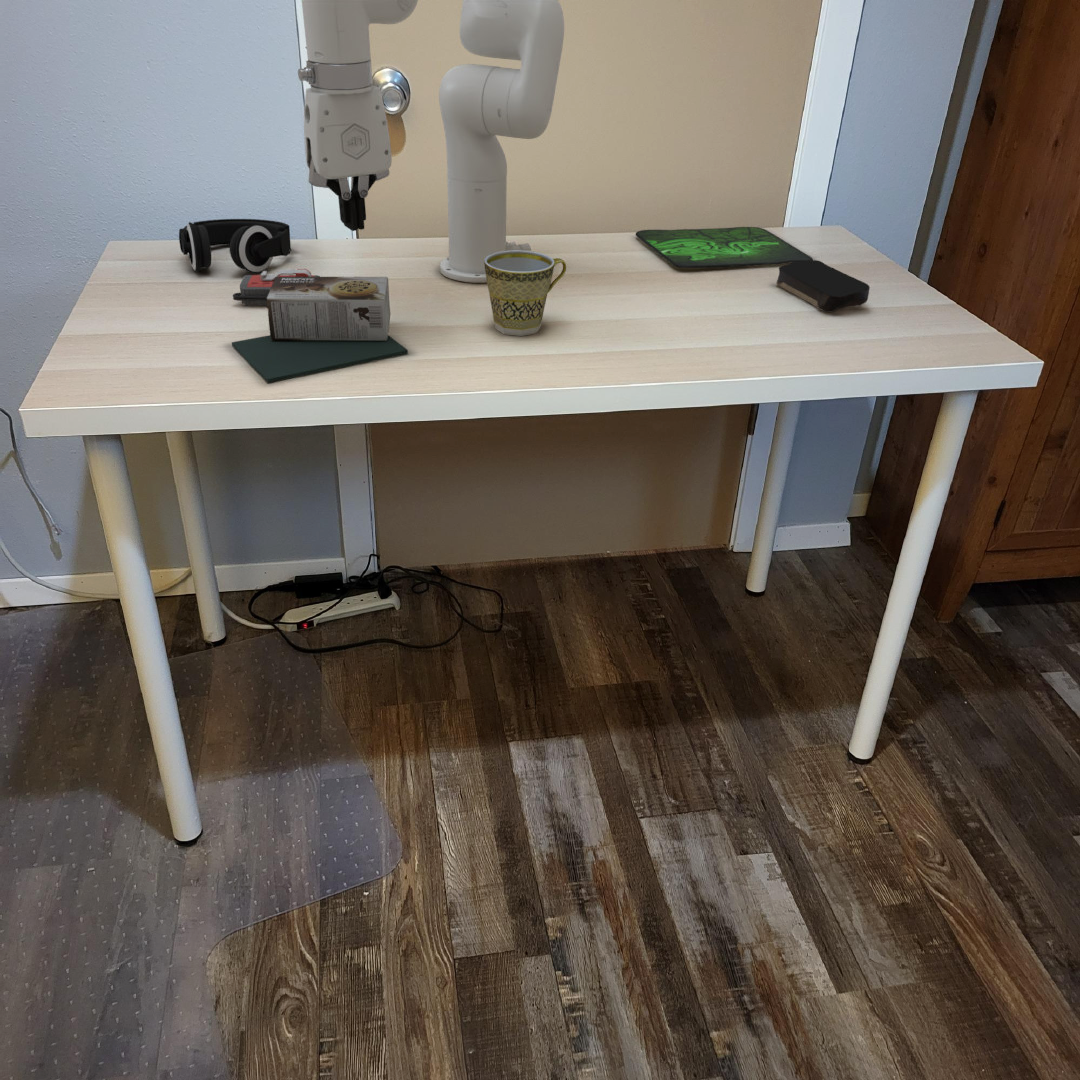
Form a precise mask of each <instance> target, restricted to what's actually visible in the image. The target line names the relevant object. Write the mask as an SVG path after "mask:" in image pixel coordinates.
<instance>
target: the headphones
mask: <svg viewBox="0 0 1080 1080" xmlns="http://www.w3.org/2000/svg"><path fill="white" fill-rule="evenodd" d="M290 229H291V228H290V224H288V223H286V222H282V221H276V220H269V219H258V218H257V219H256V218H222V219H221V218H219V219H209V220H199V221H193V222H190V221H189V222H188V223H187V225H185V226H184V227H183V228H179V230H178V241H179V247H180V251H181V253H182V254H183V255H184V256H187V255H189V256H188V257H189V262H190V265H191V267H192V268H193V271H194V272H195V273H198V272H200V271H201V270H202V269H206V270H207V269H209V268H210V267H211V266H212V250H211V249H212V248H211V247H213V246H222V245H229V255H230V258H231V260H232V261H233V263H234V265H236V266H237V267H238V268H240V269H241V270H243V271H244V270H245V271H246V272H248V273H251V274H261V273H262V272H263V271H266V269H267V268H268V267H269V266H270V265H271V263H272V262H273V259H274V258H276V257H281V256H283V257H287V256H288V255H289V254H290V253H291V251H292V248H291V247H292V246H291V245H292V244H291V232H290V231H291V230H290Z"/></svg>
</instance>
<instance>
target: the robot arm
mask: <svg viewBox="0 0 1080 1080" xmlns="http://www.w3.org/2000/svg"><path fill="white" fill-rule="evenodd" d="M418 2H419V0H301V9H302V17H303V27H304V28H303V29H304V36H305V37H304V38H305V46H306V54H307V55H306V56H307V60H306V66H305V67H303V68H298V70H297V75H298V80H299V81H300V82H306V83H308V85H310V87H307V88H306V89H305V96H304V108H303V109H304V110H303V111H304V113H303V136H304V137H303V139H304V151H305V160H306V165H307V167H308V170H309V173H308V183H309V184H310V185H312V186H313V187H316V188H324V189H329V190H330V191H331V192H333V194H335V195H336V196H337V197H338V208H339V218H340V221H341V223H343V226H344V227H346V228H347V229H349V230H350V231H352V232H355V231H357V230H359V231H360V230H361V231H362V230H365V221H367V210H366V198H367V197H368V195H369V191H370V189H371V188H372V187H373V185H374V184H375V183H376V182H377V181H381V180H382V179H385V178H387V177H389V176H390V168H391V166H392V160H393V159H392V157H393V156H392V147H391V138H390V131H389V123H388V118H387V114H386V109H385V104H384V99H383V95H382V92H381V88H380V87H379V86H377V85H374V84H373V83H374V81H373V69H372V56H371V45H370V44H371V43H370V29H369V28H370V25H371V24H372V25H373V24H374V25H375V24H379V25H395V24H399V23H401V22H403V21H405V20H407V19H408V18H409V17H410V16H411V15H412V14H413V12H414V11H415V9H416V7H417V6H418V5H417V4H418ZM564 37H565V17H564V12H563V7H562V5H561V3H560V1H559V0H462V3H461V10H460V20H459V38H460V43H461V45H462V46H463V48H464V49H465V50H466V51H468V53H470V54H473V55H476V56H480V57H483V58H484V57H485V58H492V59H501V60H509V61H510V60H511V61H520V68H512V67H502V66H498V65H496V66H495V65H486V64H476V63H466V64H459V65H456V66H454V67H453V66H452V67H451V68H450V69H448V70H447V71H446V72H445V74H444V75H443V77H442V79H441V81H440V85H439V90H438V103H439V108H440V114H441V119H442V120H441V121H442V124H443V130H444V136H445V147H446V171H447V173H446V176H447V177H446V178H447V179H446V181H447V220H448V221H447V225H448V227H447V229H448V230H447V231H448V257H446V258H444V259H443V260H441V261H440V263H439V271H440V274H442V275H443V276H444V277H445V278H448V279H451V280H454V281H458V282H461V283H474V284H477V283H478V284H481V283H482V284H487V279H486V273H485V264H484V260H485V258H486V257H487V256H488V255H491V254H493V253H496V252H501V251H510V250H523V251H532V247H531V244H530V243H528V242H527V243H520V244H517V243H516V242H515V241H511V242H509V241H507V189H508V188H507V184H508V183H507V182H508V181H507V179H508V178H507V177H508V165H507V158H506V155H505V153H504V149H503V147H502V145H501V143H500V141H499V139H498V137H506V138H514V139H521V140H522V139H524V140H533V139H537V138H540V137H541V136H542V135H543V134H544V132H545V131H546V130H547V127H548V126H549V123H550V119H551V117H552V111H553V106H554V101H555V100H554V99H555V94H556V89H557V88H556V87H557V83H558V78H559V77H558V76H559V71H560V66H561V65H560V63H561V58H562V52H563V45H564ZM497 136H498V137H497ZM348 178H350V179H351V180H350V184H349V179H348Z"/></svg>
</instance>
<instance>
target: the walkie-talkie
mask: <svg viewBox="0 0 1080 1080" xmlns="http://www.w3.org/2000/svg"><path fill="white" fill-rule="evenodd" d="M267 273H268V271H267V270H264V271H262V272H261V273H260V274H244V276H243V277H242V280H241V282H240V283H239V289H240V290H239V292H235V293H233V294H232V300H234V301H239V302H241V304H242V305H245V306H249V307H254V306H255V307H263V306H264V307H268V306H267V296H268V294H269V292H270V289H271V287H272V284H273V282H274V280H275V277H321V276H320V275H317V274H316V275H313V274H312V272H311V271H310V270H309V269H306V268H297V269H296V268H282V269H280V270H278V271H277V272H276V273H274V274H267Z"/></svg>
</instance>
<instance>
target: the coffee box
mask: <svg viewBox="0 0 1080 1080" xmlns="http://www.w3.org/2000/svg"><path fill="white" fill-rule="evenodd" d="M389 286H390V285H389V276H320V277H275V280H274V282H273V284H272V287H271V289H270V292H269V294H268V296H267V306H266V307H267V316H268V317H267V318H268V319H267V320H268V328H269V335H270V336H271V340H272V341H273V340H333V341H387V338H388V335H389V329H390V324H391V323H390V322H391V314H392V313H391V303H390V289H389Z"/></svg>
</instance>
